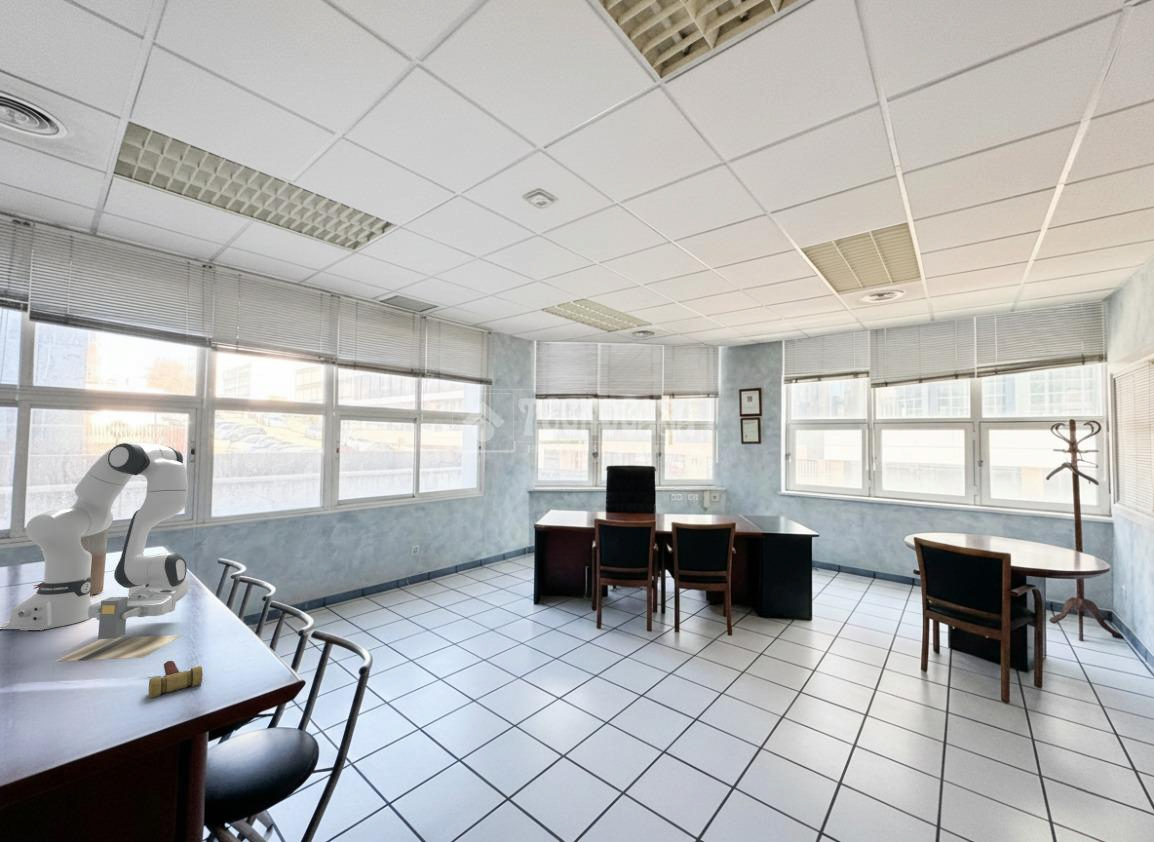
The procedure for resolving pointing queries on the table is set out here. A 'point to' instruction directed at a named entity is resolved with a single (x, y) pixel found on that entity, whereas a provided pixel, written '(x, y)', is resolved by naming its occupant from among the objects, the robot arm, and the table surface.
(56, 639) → the table surface
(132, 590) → the medicine bottle
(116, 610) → the tall grey pillar
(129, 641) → the board
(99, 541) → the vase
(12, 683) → the table surface
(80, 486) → the robot arm
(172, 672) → the gavel
